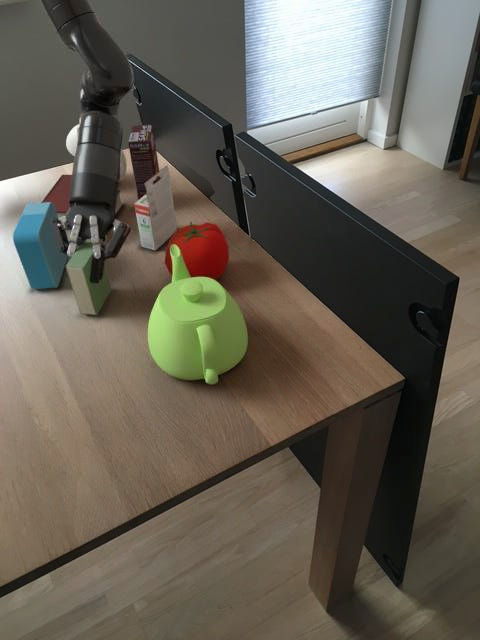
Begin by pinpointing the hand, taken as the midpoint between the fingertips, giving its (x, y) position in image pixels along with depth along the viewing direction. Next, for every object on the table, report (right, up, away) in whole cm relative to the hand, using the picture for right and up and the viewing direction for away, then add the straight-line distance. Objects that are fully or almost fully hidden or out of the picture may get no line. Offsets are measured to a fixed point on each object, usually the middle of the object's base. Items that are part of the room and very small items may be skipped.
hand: (84, 281), depth 88 cm
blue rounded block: (-10, +3, +14) cm, 17 cm away
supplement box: (+6, +20, +32) cm, 38 cm away
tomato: (+18, +1, +11) cm, 21 cm away
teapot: (+19, -11, -3) cm, 22 cm away
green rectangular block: (0, -3, +6) cm, 6 cm away
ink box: (+9, +10, +20) cm, 24 cm away
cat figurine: (-7, +26, +39) cm, 47 cm away
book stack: (-8, +14, +26) cm, 31 cm away
